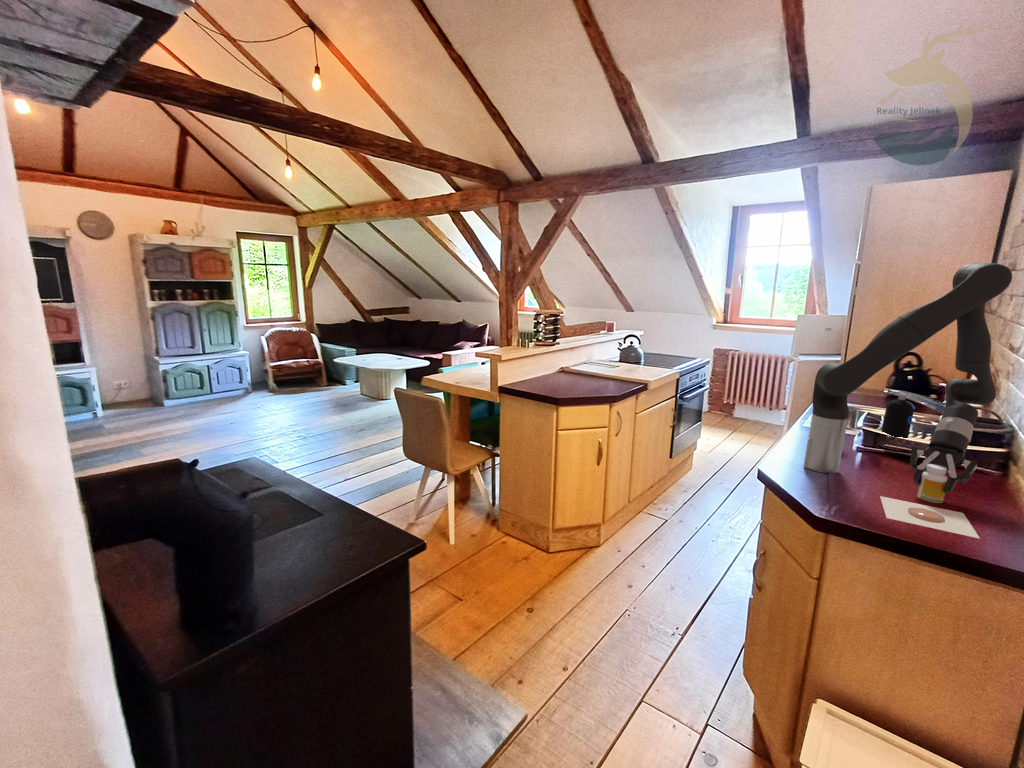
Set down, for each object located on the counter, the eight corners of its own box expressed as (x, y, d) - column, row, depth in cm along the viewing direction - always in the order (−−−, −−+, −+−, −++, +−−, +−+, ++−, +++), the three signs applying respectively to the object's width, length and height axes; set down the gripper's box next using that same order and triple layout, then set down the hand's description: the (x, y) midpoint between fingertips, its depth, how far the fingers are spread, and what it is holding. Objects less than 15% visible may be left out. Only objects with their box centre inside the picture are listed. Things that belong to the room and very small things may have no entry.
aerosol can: (881, 449, 170) (892, 395, 166) (874, 442, 177) (884, 390, 173) (910, 453, 167) (922, 397, 163) (901, 446, 174) (912, 393, 170)
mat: (886, 520, 117) (886, 517, 117) (879, 498, 130) (879, 496, 130) (979, 541, 108) (980, 538, 108) (962, 515, 121) (963, 513, 121)
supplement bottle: (947, 505, 126) (955, 471, 124) (924, 503, 127) (932, 469, 125) (934, 497, 131) (942, 464, 129) (912, 495, 132) (919, 462, 130)
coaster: (909, 517, 118) (910, 515, 118) (905, 506, 124) (905, 505, 124) (947, 525, 114) (947, 523, 114) (940, 513, 120) (941, 512, 120)
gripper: (917, 423, 135) (896, 471, 131) (987, 436, 124) (967, 490, 119) (919, 437, 140) (898, 485, 135) (986, 451, 129) (967, 504, 124)
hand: (931, 487), depth 127 cm, fingers closed on supplement bottle, 5 cm apart
